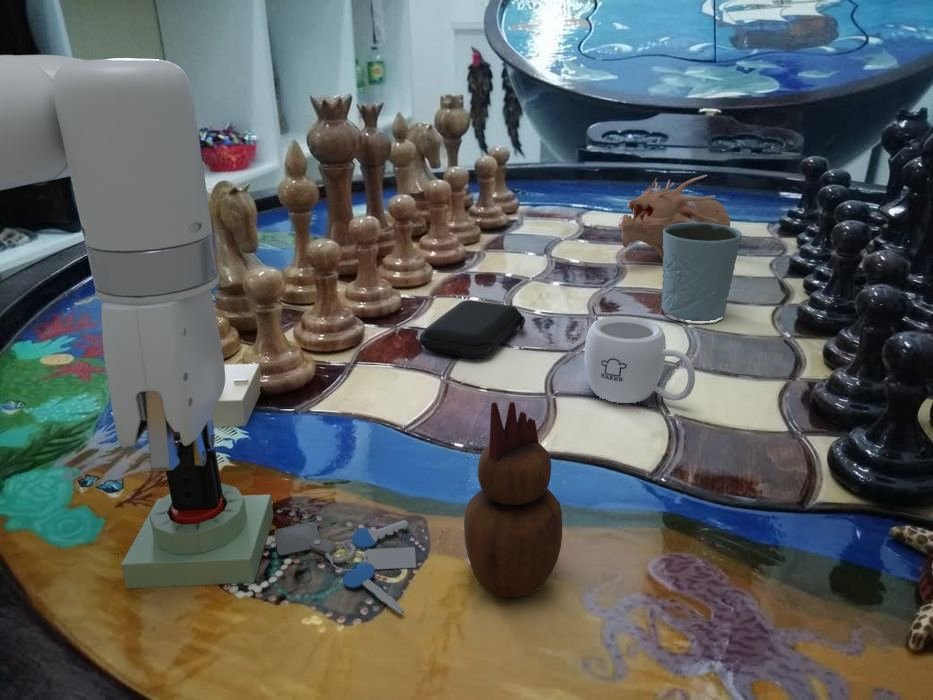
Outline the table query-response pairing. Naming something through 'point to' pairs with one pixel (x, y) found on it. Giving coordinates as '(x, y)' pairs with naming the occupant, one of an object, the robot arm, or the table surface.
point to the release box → (200, 545)
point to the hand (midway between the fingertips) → (198, 503)
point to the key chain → (352, 554)
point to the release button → (196, 514)
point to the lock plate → (237, 395)
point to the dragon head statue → (668, 214)
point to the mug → (629, 360)
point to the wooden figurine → (513, 510)
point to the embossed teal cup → (698, 269)
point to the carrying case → (472, 329)
